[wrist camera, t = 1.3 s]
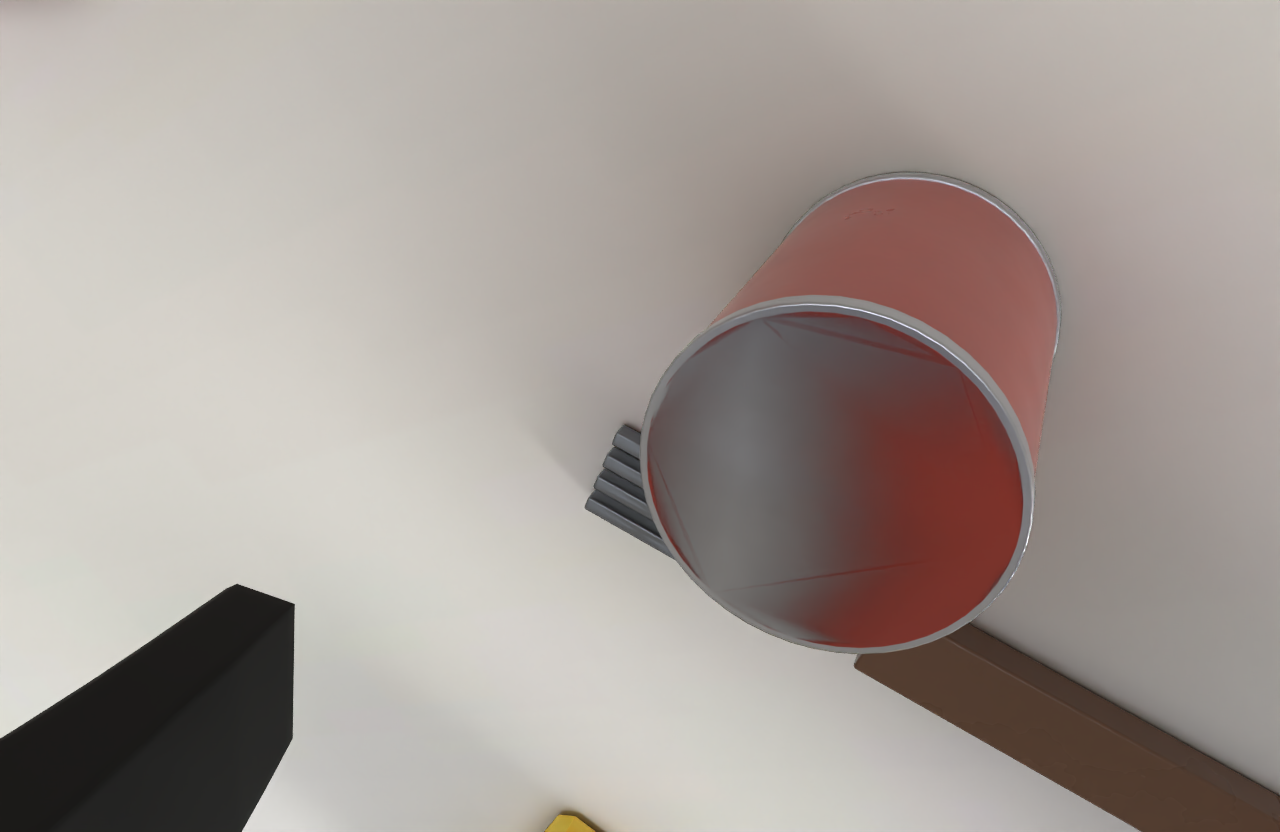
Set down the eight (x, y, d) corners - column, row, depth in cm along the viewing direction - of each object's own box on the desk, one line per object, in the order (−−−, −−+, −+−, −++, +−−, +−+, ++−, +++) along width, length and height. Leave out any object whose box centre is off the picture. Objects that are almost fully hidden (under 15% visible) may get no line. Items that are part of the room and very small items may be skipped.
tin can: (1123, 259, 18) (1120, 434, 13) (966, 491, 21) (909, 718, 15) (841, 119, 19) (724, 228, 13) (725, 361, 21) (589, 534, 16)
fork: (1344, 815, 21) (1351, 847, 20) (1261, 885, 22) (1265, 918, 21) (625, 418, 23) (610, 435, 22) (589, 503, 24) (573, 522, 23)
